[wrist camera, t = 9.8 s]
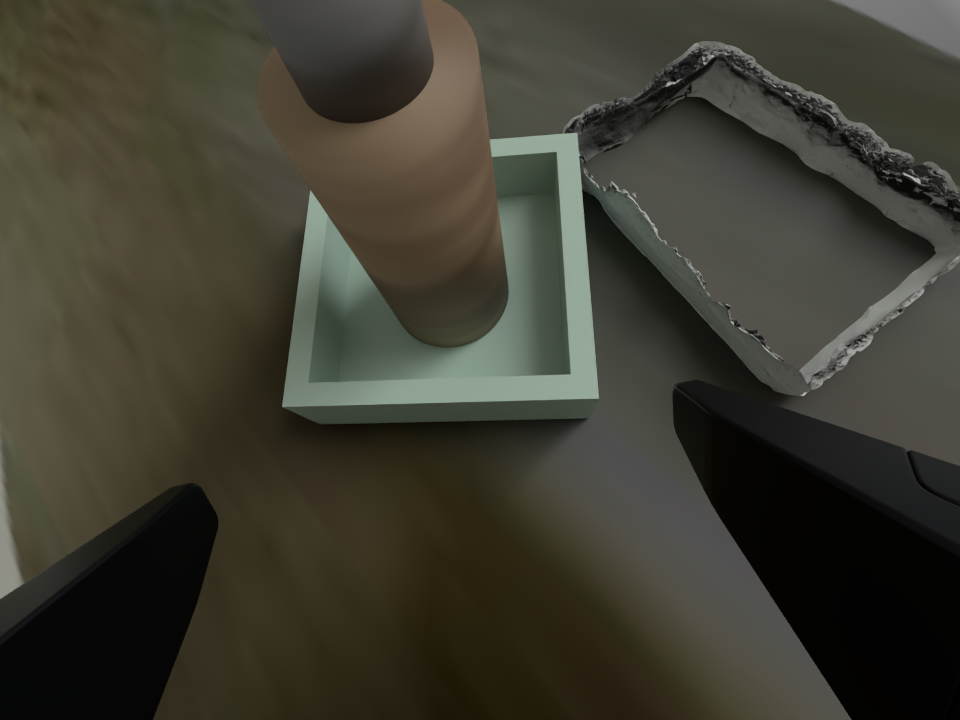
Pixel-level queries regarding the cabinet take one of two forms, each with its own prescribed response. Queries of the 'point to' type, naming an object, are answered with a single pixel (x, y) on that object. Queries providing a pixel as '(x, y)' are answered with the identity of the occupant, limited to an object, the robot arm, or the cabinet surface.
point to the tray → (475, 366)
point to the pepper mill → (394, 151)
